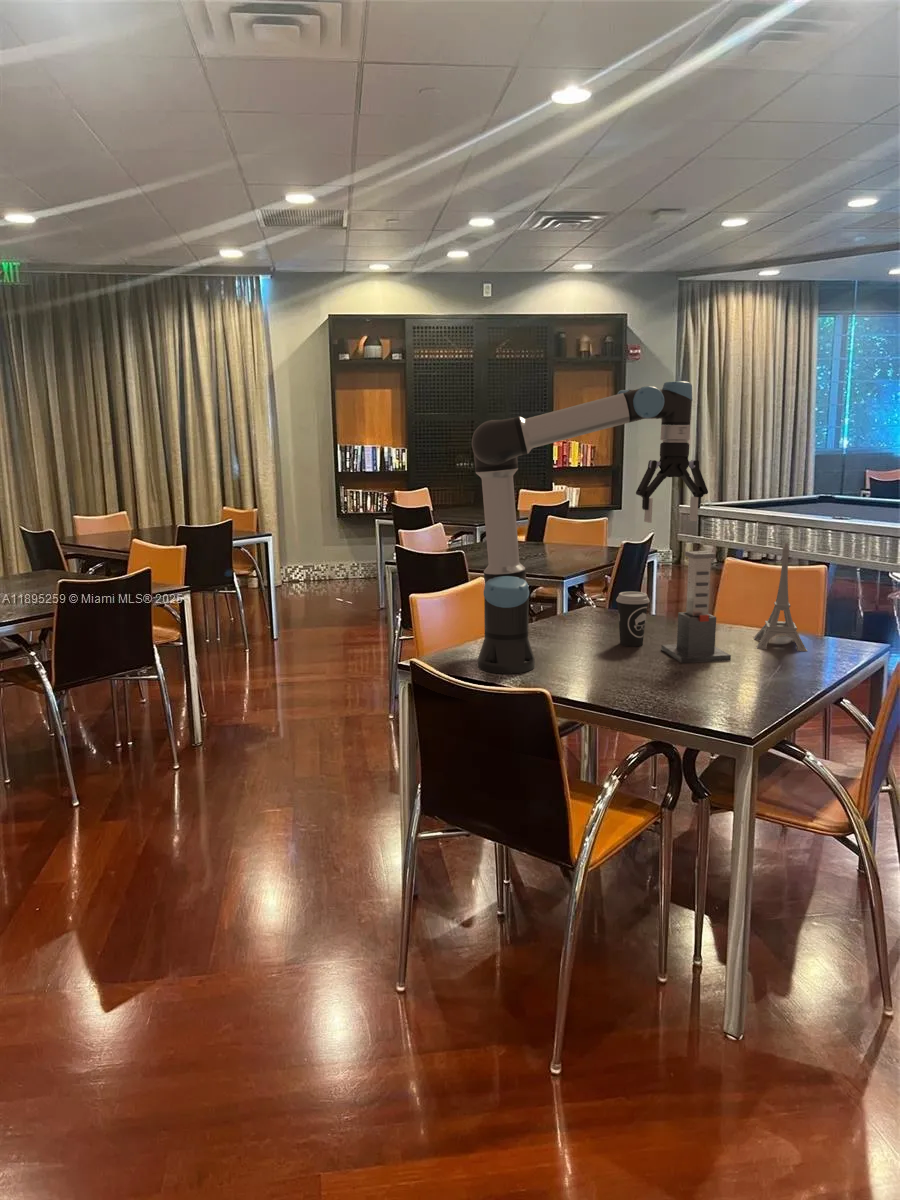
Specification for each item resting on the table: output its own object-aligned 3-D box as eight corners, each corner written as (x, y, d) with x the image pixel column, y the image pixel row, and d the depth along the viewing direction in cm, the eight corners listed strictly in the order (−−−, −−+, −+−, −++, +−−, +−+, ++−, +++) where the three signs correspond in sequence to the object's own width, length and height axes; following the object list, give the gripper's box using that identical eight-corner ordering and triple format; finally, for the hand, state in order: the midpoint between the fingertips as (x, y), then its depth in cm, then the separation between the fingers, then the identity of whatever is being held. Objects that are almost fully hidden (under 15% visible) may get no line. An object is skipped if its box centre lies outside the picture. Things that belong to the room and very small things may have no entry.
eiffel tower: (753, 638, 246) (759, 539, 240) (800, 640, 243) (808, 540, 237) (757, 649, 234) (763, 545, 228) (807, 652, 230) (815, 546, 224)
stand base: (681, 663, 220) (683, 618, 218) (661, 649, 234) (663, 607, 231) (730, 660, 222) (733, 616, 219) (707, 647, 235) (710, 605, 233)
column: (689, 652, 224) (694, 554, 219) (680, 647, 230) (684, 551, 224) (710, 651, 225) (715, 553, 219) (700, 646, 231) (705, 550, 225)
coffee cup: (645, 640, 245) (647, 591, 242) (650, 648, 235) (652, 597, 232) (613, 639, 246) (614, 590, 243) (616, 647, 236) (618, 597, 233)
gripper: (638, 441, 211) (635, 524, 215) (724, 441, 217) (719, 521, 221) (625, 441, 218) (622, 521, 222) (709, 441, 224) (704, 519, 228)
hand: (670, 521), depth 221 cm, fingers open, 13 cm apart
